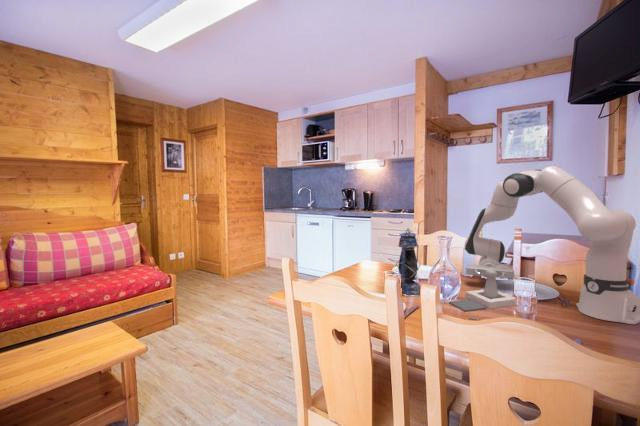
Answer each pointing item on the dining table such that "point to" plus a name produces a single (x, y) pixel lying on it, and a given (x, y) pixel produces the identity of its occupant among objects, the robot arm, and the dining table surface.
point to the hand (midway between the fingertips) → (489, 275)
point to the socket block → (490, 303)
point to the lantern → (408, 264)
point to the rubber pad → (467, 305)
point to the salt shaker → (491, 285)
